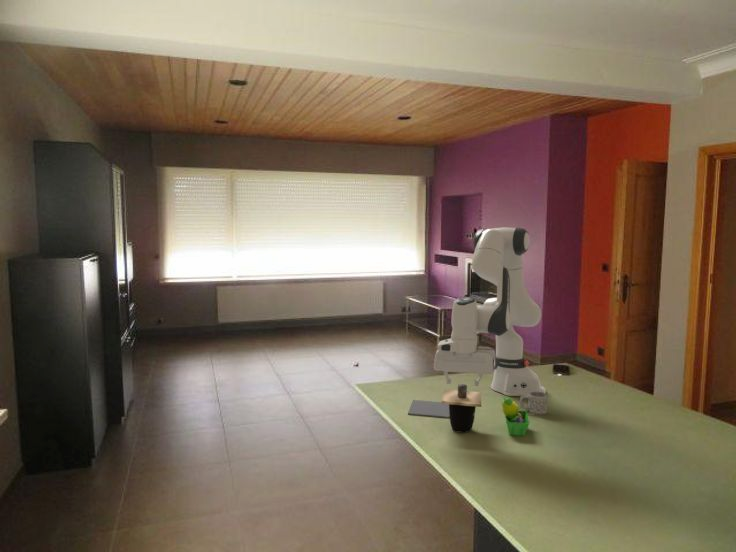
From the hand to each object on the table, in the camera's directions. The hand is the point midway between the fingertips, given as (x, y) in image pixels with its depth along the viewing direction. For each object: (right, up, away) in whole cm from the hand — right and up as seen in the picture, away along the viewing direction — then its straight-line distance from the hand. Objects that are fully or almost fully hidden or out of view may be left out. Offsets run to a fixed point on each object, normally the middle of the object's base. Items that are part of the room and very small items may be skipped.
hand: (462, 384), depth 180 cm
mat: (-9, -13, +18) cm, 24 cm away
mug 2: (+30, -14, +18) cm, 38 cm away
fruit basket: (+18, -16, 0) cm, 24 cm away
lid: (0, -5, 0) cm, 5 cm away
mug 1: (0, -15, +1) cm, 15 cm away
